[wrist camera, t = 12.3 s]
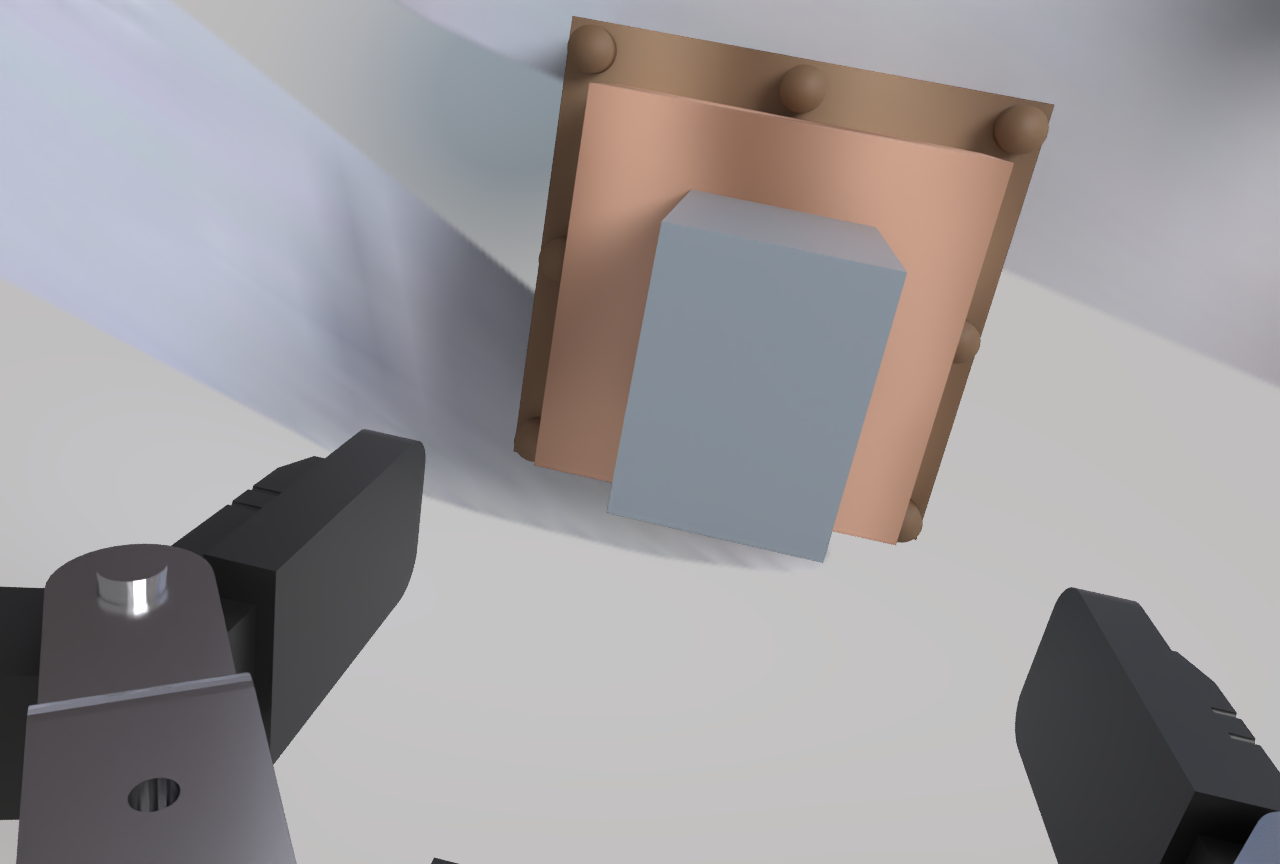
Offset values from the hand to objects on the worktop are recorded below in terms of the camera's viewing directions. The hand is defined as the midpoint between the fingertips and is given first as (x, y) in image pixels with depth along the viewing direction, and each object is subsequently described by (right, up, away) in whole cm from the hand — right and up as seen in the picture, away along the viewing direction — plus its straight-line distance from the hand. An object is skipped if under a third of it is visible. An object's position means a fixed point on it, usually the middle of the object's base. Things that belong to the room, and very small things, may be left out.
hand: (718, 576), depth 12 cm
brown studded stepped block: (+3, +7, +20) cm, 22 cm away
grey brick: (+2, +4, +12) cm, 13 cm away
